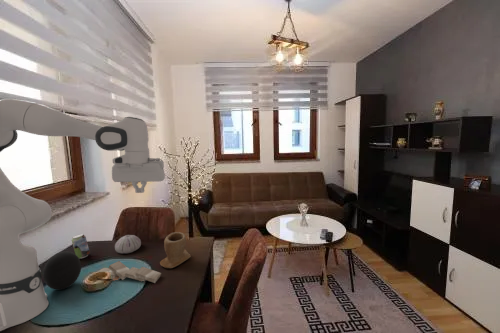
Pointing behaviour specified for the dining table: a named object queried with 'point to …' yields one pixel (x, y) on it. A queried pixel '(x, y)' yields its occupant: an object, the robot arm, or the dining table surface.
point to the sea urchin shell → (127, 244)
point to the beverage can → (80, 246)
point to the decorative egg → (62, 270)
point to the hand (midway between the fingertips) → (140, 192)
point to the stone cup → (175, 250)
